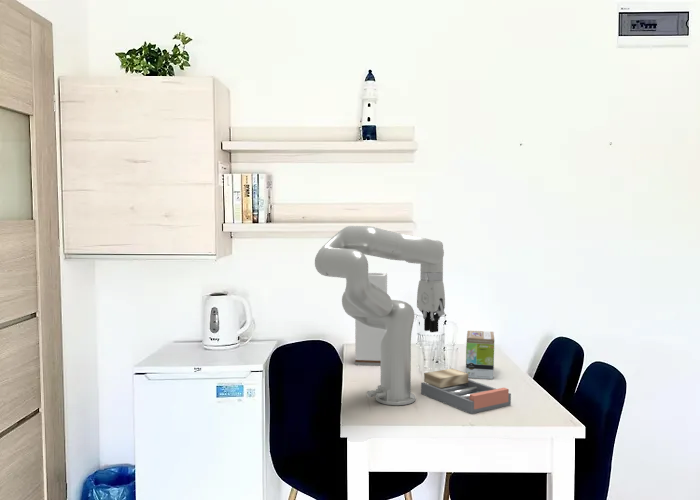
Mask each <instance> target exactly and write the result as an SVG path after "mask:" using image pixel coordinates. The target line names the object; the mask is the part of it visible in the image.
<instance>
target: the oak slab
mask: <svg viewBox="0 0 700 500" xmlns="http://www.w3.org/2000/svg"><path fill="white" fill-rule="evenodd" d="M423 375H424V377H423V379H424V380H423V381H424V383H427V384H430V385H433V386H436V387H438V388H443V387H448V386H453V385H458V384H464V383H468V379H469V378H468V373H466V371H465V372H464V371H462V370H458V369H455V368H447V369H441V370H435V371H430V372H424V374H423Z"/></svg>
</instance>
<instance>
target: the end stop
mask: <svg viewBox="0 0 700 500" xmlns="http://www.w3.org/2000/svg"><path fill="white" fill-rule="evenodd" d="M509 390H510V389H509V388H506V387H500V388H495V389H494V390H489V391H484V392H479V393H474V394H470V400H472V401H474V409H479V408H483V407H488V406H492V405H497V404H501V403H506V402H508V396H509V393H510V392H509Z"/></svg>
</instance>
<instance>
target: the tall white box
mask: <svg viewBox="0 0 700 500" xmlns="http://www.w3.org/2000/svg"><path fill="white" fill-rule="evenodd" d="M368 277H369V281H370V282H371V283H373V284H374V285H376V286H377V287H379V288H380V289H382V290H383V291H385V292H386V293H387V294H388V272H368ZM354 320H355V323H354V324H355V325H354V326H355V329H354V330H355V334H354V335H355V337H354V338H355V346H354V347H355V349H354V350H355V351H354V353H355V358H354V359H355V366H370V367H373V366H375V367H381V351H380V350H381V341H382V339H383V337H384V335H385V334H386V332H387V330H385V329H380V328H374V327H369V326H367V325H365V324H363V323H361V322H359V321H358V320H356V319H354Z"/></svg>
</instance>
